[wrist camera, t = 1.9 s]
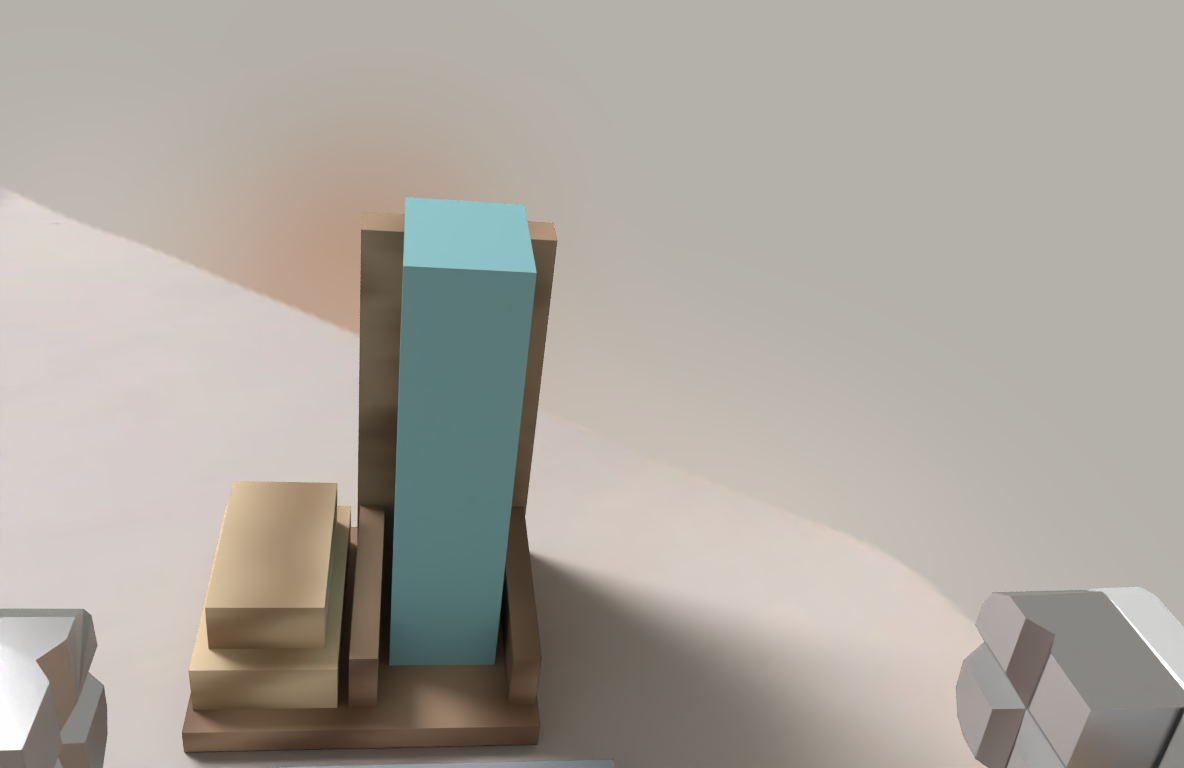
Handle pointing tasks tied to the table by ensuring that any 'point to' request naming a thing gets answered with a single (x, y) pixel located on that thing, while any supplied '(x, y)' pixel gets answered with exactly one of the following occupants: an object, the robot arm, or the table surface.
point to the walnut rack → (367, 683)
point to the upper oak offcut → (273, 567)
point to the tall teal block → (457, 424)
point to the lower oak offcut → (276, 656)
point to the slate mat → (493, 765)
